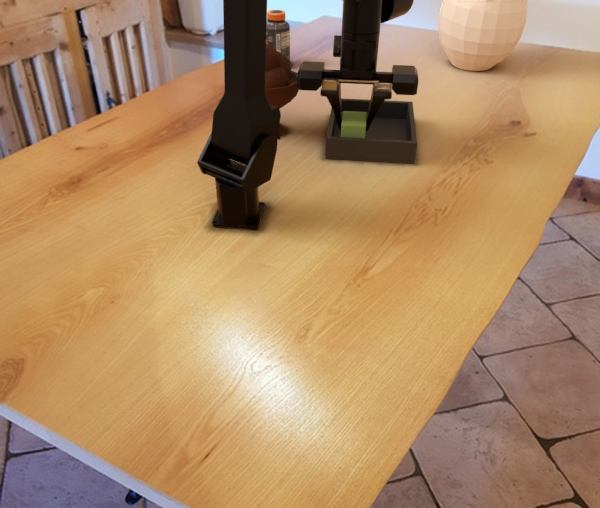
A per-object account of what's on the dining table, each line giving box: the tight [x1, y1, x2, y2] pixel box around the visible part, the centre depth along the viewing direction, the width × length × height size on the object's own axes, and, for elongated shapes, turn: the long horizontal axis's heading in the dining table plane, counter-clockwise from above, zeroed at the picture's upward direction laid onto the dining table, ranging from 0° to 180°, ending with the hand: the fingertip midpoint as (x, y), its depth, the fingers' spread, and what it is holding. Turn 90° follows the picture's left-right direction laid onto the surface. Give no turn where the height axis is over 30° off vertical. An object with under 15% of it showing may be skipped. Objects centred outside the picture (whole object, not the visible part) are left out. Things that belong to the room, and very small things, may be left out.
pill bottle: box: [266, 9, 291, 61], centre depth 123 cm, size 6×6×11 cm
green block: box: [341, 111, 367, 138], centre depth 92 cm, size 6×4×3 cm, turn 174°
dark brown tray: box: [324, 97, 418, 165], centre depth 96 cm, size 18×15×4 cm
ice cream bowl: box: [265, 44, 300, 137], centre depth 94 cm, size 11×11×15 cm
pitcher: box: [437, 0, 528, 72], centre depth 119 cm, size 19×18×25 cm
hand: (353, 129), depth 92 cm, fingers closed on green block, 4 cm apart
